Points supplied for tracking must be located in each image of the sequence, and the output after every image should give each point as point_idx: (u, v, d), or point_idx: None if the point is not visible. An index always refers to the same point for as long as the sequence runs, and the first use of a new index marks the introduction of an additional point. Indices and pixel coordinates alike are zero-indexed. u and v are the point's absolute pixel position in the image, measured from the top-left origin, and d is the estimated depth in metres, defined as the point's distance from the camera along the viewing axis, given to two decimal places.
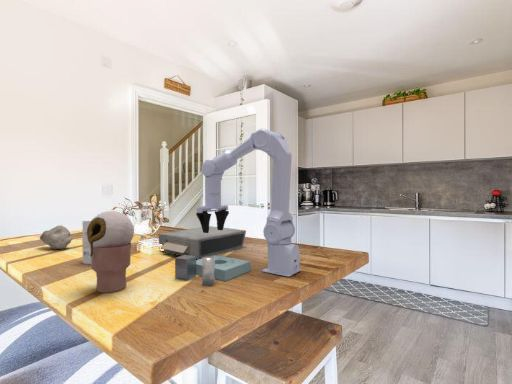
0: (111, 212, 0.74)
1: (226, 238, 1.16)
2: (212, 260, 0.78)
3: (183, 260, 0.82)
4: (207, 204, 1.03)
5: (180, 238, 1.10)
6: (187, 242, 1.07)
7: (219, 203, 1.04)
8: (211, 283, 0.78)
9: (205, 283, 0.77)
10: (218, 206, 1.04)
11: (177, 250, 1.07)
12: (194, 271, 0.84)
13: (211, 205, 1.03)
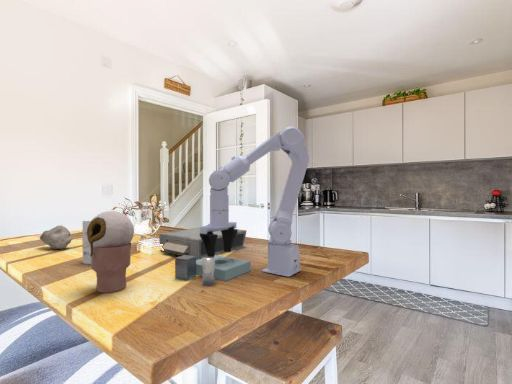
0: (111, 212, 0.74)
1: None
2: (212, 260, 0.78)
3: (183, 260, 0.82)
4: (212, 223, 0.87)
5: (180, 238, 1.10)
6: (187, 242, 1.07)
7: (227, 221, 0.88)
8: (211, 283, 0.78)
9: (205, 283, 0.77)
10: (225, 225, 0.88)
11: (177, 250, 1.08)
12: (194, 271, 0.84)
13: (217, 224, 0.87)
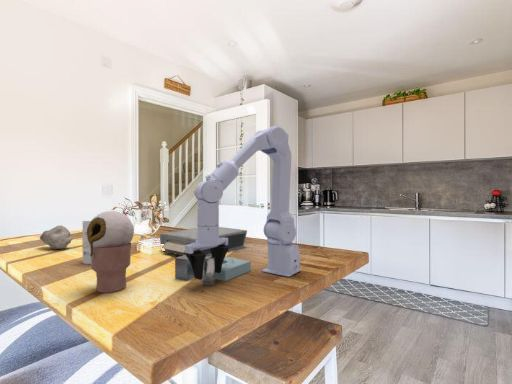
0: (111, 212, 0.74)
1: None
2: (212, 260, 0.78)
3: (183, 260, 0.82)
4: (200, 240, 0.76)
5: (181, 238, 1.10)
6: (188, 242, 1.07)
7: (216, 238, 0.77)
8: (211, 283, 0.78)
9: (205, 283, 0.77)
10: (215, 242, 0.77)
11: (178, 250, 1.08)
12: None
13: (205, 241, 0.76)
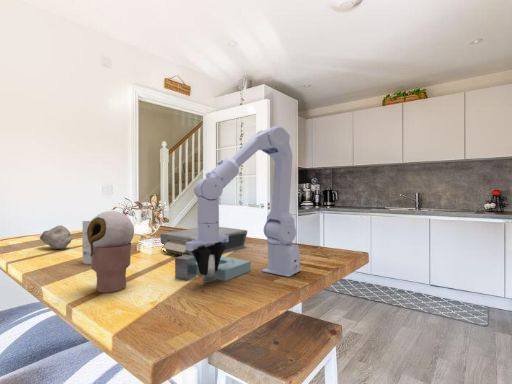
0: (111, 212, 0.74)
1: None
2: (212, 256, 0.78)
3: (183, 260, 0.82)
4: (200, 237, 0.76)
5: (181, 238, 1.10)
6: None
7: (217, 235, 0.77)
8: (211, 279, 0.78)
9: (205, 279, 0.77)
10: (215, 239, 0.77)
11: (178, 250, 1.08)
12: (194, 271, 0.84)
13: (206, 239, 0.76)
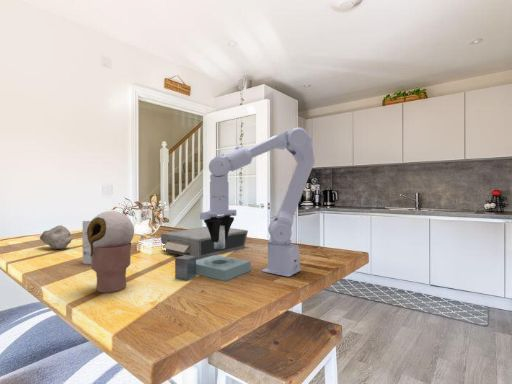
0: (111, 212, 0.74)
1: (227, 238, 1.16)
2: (222, 227, 0.88)
3: (183, 260, 0.82)
4: (212, 209, 0.87)
5: (181, 238, 1.10)
6: (188, 242, 1.08)
7: (226, 208, 0.88)
8: (221, 247, 0.88)
9: (216, 247, 0.88)
10: (225, 211, 0.88)
11: (178, 249, 1.08)
12: (194, 271, 0.84)
13: (217, 210, 0.87)
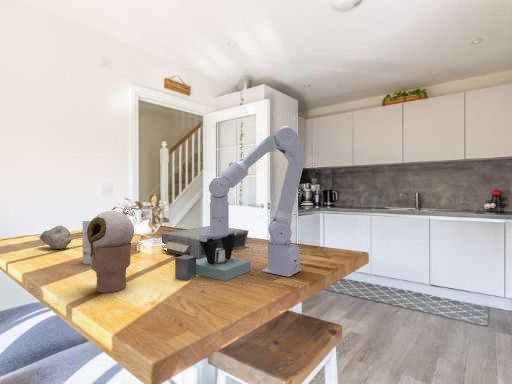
0: (111, 212, 0.74)
1: None
2: (222, 251, 0.89)
3: (183, 260, 0.82)
4: (212, 230, 0.87)
5: (182, 237, 1.11)
6: (188, 242, 1.08)
7: (227, 228, 0.88)
8: None
9: None
10: (225, 232, 0.88)
11: (178, 249, 1.09)
12: (194, 271, 0.84)
13: (217, 231, 0.87)
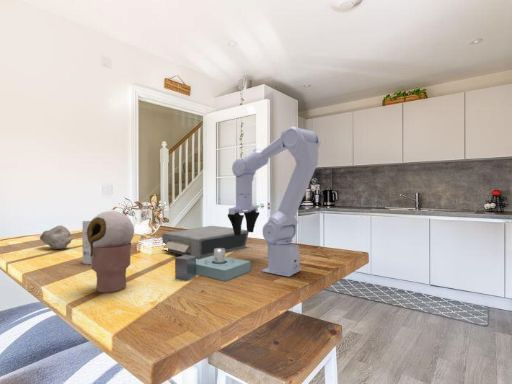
0: (111, 212, 0.74)
1: (228, 238, 1.16)
2: (222, 251, 0.89)
3: (183, 260, 0.82)
4: (239, 205, 0.99)
5: (182, 237, 1.11)
6: (188, 241, 1.08)
7: (251, 204, 1.00)
8: None
9: None
10: (250, 207, 0.99)
11: (179, 249, 1.09)
12: (194, 271, 0.84)
13: (243, 206, 0.99)
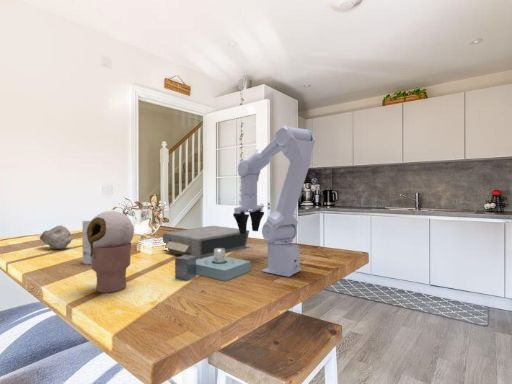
0: (111, 212, 0.74)
1: (228, 238, 1.16)
2: (222, 251, 0.89)
3: (183, 260, 0.82)
4: (244, 205, 1.02)
5: (182, 237, 1.11)
6: (189, 241, 1.08)
7: (256, 204, 1.03)
8: None
9: None
10: (255, 207, 1.02)
11: (179, 249, 1.09)
12: (194, 271, 0.84)
13: (248, 206, 1.01)
